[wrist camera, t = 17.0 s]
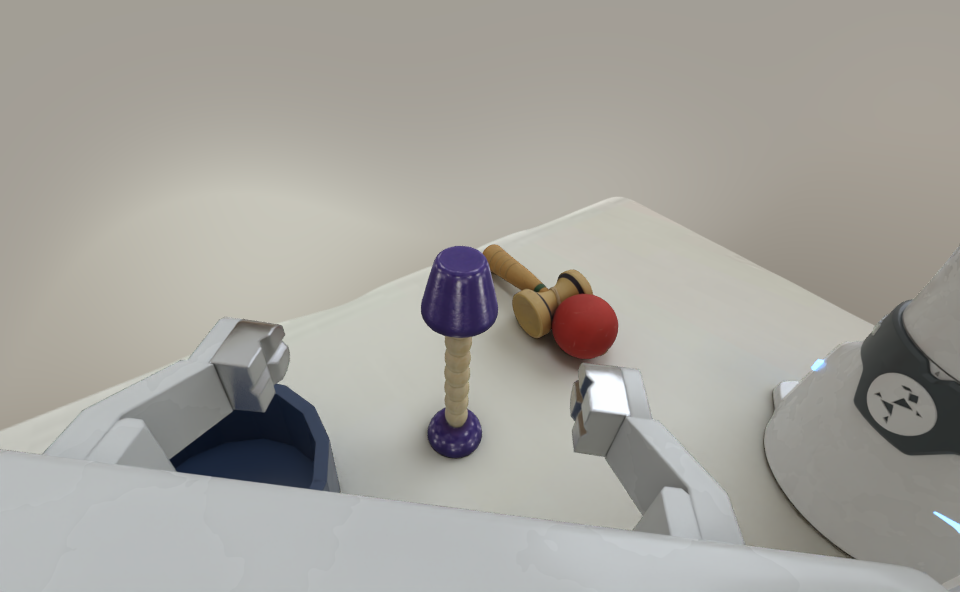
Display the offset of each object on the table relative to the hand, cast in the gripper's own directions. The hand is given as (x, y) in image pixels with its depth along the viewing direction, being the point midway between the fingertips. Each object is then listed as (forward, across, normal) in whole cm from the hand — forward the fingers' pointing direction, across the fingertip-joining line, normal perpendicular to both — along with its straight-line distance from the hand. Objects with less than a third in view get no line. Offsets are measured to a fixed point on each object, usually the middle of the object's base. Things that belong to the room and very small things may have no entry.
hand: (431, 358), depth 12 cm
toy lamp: (+12, 0, +22) cm, 25 cm away
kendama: (+28, -7, +22) cm, 36 cm away
